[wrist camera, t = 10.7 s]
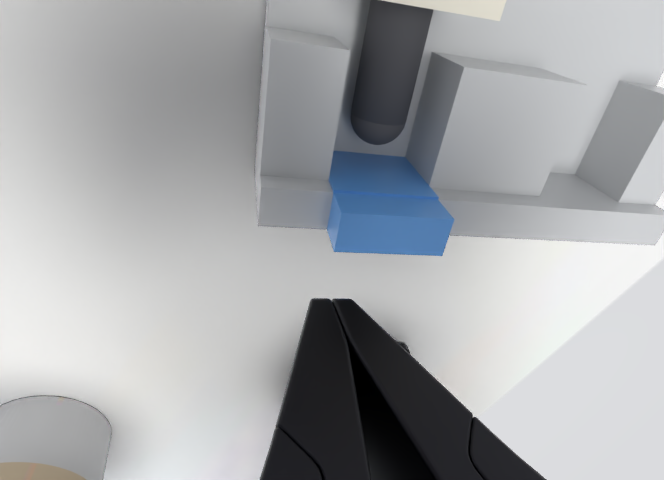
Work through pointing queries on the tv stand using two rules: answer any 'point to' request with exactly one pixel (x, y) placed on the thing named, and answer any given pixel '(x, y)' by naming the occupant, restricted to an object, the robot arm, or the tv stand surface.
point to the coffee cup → (52, 440)
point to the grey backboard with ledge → (469, 128)
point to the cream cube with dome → (398, 60)
